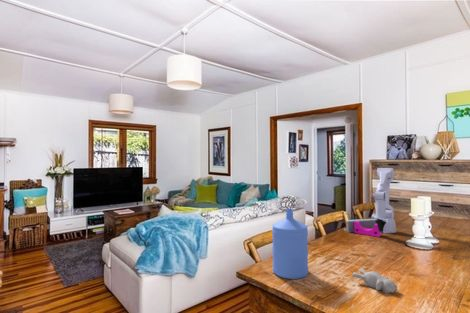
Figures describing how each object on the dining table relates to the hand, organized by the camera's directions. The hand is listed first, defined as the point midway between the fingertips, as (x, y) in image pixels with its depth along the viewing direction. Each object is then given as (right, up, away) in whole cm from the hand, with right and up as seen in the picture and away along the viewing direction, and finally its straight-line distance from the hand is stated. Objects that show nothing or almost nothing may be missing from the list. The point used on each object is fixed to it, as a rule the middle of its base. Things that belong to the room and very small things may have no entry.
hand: (380, 231), depth 171 cm
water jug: (-69, -4, -51) cm, 86 cm away
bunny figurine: (-38, -4, -65) cm, 75 cm away
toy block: (-4, -4, +8) cm, 10 cm away
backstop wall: (-5, -4, +17) cm, 19 cm away
